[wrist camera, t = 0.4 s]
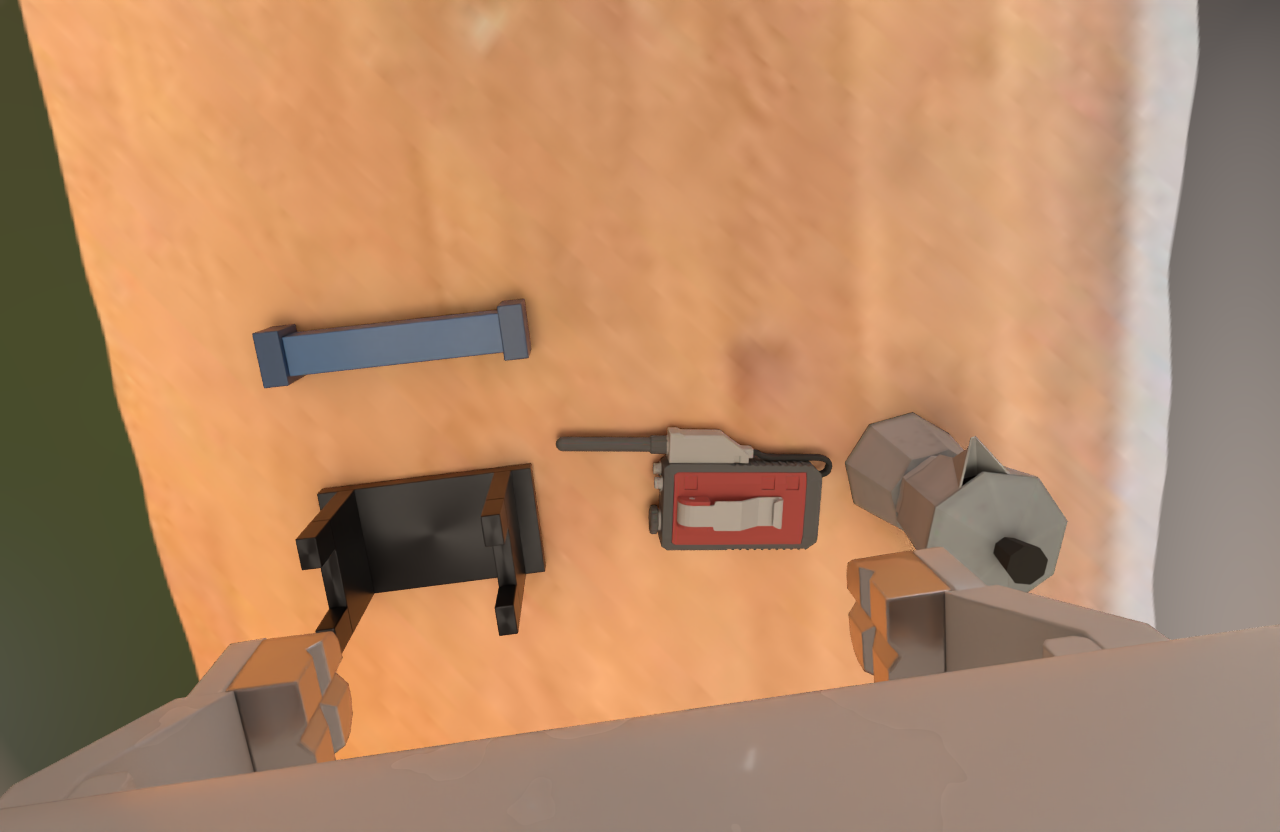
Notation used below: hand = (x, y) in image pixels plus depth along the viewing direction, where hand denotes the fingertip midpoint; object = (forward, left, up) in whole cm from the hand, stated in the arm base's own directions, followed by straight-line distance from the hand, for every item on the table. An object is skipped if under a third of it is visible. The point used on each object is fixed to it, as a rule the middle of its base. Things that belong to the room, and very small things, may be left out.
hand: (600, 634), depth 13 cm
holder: (+14, -12, -46) cm, 49 cm away
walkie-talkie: (+13, +7, -46) cm, 48 cm away
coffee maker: (+15, +23, -46) cm, 54 cm away
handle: (0, -12, -46) cm, 47 cm away
